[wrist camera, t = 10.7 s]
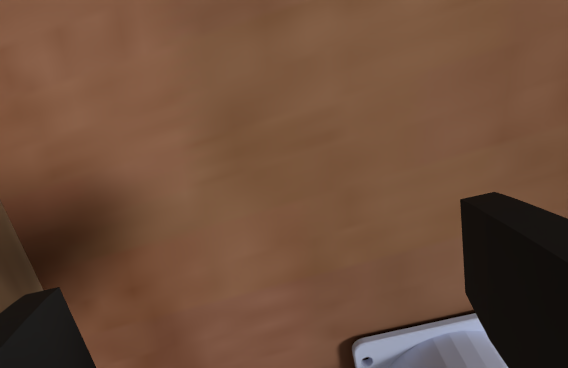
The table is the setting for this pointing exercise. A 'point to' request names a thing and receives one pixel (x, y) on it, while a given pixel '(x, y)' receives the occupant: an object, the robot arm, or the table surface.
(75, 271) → the table surface
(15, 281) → the walnut rail
